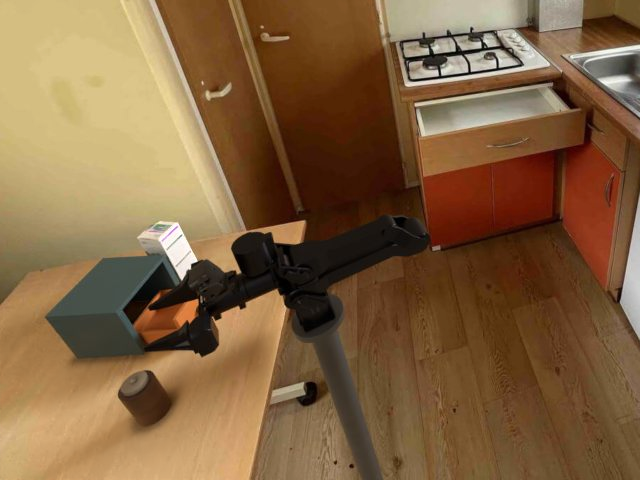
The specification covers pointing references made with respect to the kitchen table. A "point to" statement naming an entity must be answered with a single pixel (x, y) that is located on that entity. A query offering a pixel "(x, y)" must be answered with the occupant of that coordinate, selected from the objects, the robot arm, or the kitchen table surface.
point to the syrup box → (168, 246)
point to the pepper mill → (144, 397)
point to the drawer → (164, 319)
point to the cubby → (110, 305)
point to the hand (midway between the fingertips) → (146, 328)
